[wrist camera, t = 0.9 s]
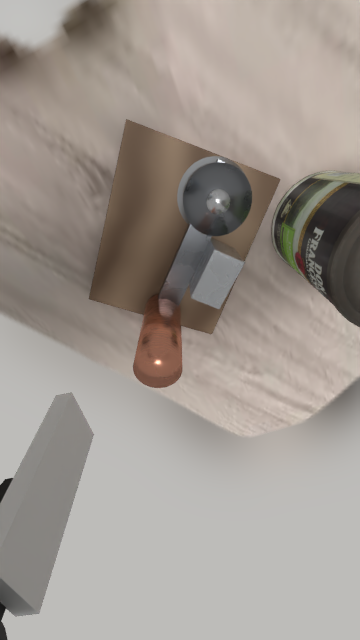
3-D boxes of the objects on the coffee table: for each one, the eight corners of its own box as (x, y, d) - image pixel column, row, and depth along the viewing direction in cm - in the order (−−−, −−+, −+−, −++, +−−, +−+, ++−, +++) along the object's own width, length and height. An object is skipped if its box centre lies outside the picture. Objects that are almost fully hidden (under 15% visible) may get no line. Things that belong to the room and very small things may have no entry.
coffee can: (283, 283, 35) (342, 350, 23) (260, 196, 30) (318, 219, 18) (374, 250, 33) (493, 303, 21) (364, 151, 29) (507, 143, 16)
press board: (92, 294, 35) (88, 299, 34) (128, 121, 27) (126, 118, 26) (210, 328, 38) (211, 335, 36) (275, 178, 30) (281, 179, 28)
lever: (198, 150, 27) (211, 143, 17) (267, 185, 28) (316, 197, 18) (132, 315, 34) (115, 375, 25) (189, 336, 36) (194, 401, 26)
